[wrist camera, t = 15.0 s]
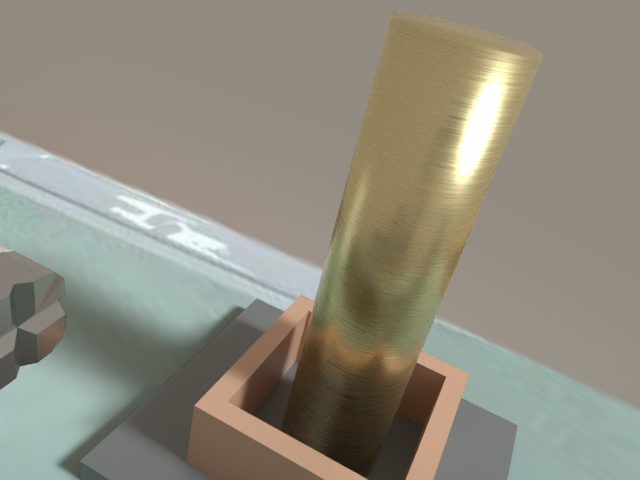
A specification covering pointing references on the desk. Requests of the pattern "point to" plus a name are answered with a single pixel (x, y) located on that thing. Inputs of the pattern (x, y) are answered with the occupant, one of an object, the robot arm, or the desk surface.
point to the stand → (268, 412)
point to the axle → (403, 225)
